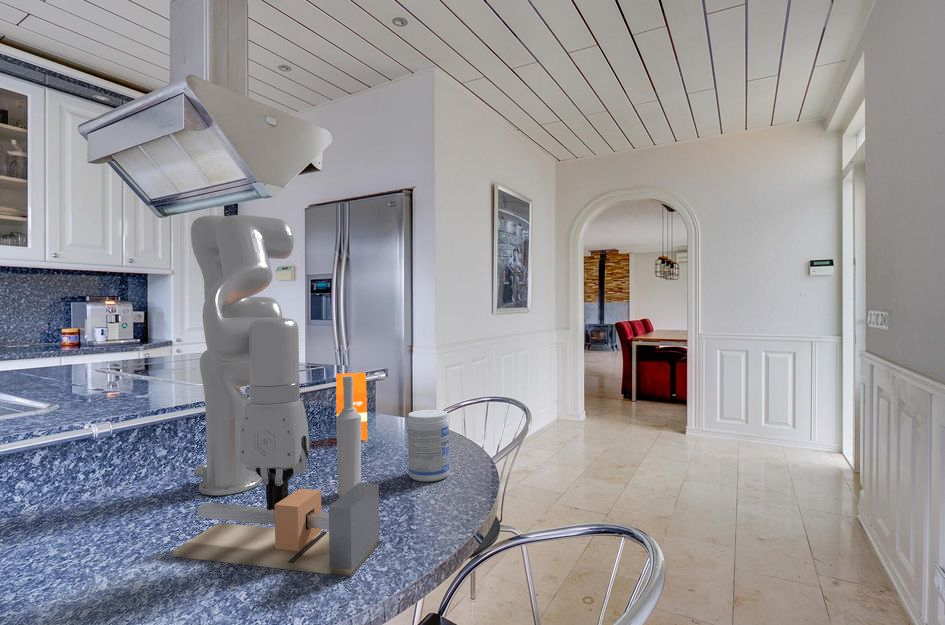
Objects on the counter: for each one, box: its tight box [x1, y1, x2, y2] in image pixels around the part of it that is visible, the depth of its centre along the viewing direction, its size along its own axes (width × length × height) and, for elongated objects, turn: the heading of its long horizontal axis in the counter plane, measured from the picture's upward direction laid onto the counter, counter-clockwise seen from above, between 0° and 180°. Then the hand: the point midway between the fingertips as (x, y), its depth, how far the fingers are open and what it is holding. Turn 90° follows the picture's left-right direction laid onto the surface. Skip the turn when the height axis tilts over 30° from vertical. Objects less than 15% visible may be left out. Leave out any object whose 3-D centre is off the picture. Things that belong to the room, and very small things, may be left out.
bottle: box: [335, 376, 362, 498], centre depth 102 cm, size 5×5×25 cm
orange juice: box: [335, 372, 368, 441], centre depth 146 cm, size 8×9×20 cm
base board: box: [172, 522, 381, 578], centre depth 79 cm, size 31×10×1 cm, turn 77°
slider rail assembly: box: [197, 482, 381, 578], centre depth 79 cm, size 30×10×10 cm, turn 77°
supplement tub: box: [407, 409, 450, 483], centre depth 113 cm, size 10×10×15 cm
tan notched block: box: [274, 488, 323, 551], centre depth 78 cm, size 4×7×7 cm, turn 167°
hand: (277, 506), depth 79 cm, fingers closed
